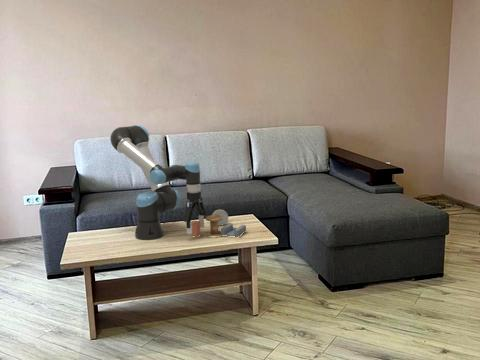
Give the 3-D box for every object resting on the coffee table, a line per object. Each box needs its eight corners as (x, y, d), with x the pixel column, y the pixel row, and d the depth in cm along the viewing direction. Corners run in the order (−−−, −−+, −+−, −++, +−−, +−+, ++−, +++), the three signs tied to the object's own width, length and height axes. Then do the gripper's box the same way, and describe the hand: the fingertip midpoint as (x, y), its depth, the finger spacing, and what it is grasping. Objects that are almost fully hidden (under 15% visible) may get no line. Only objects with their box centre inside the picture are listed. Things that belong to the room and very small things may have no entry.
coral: (211, 216, 283) (210, 205, 291) (213, 230, 289) (213, 219, 297) (227, 214, 283) (227, 203, 291) (229, 228, 289) (229, 217, 297)
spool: (203, 236, 269) (202, 218, 267) (210, 231, 277) (210, 214, 275) (218, 238, 265) (217, 220, 263) (225, 233, 273) (225, 215, 271)
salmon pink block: (190, 236, 269) (189, 222, 267) (194, 234, 273) (193, 220, 271) (197, 237, 267) (196, 223, 266) (200, 235, 271) (199, 221, 269)
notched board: (220, 236, 269) (220, 228, 268) (229, 230, 279) (229, 223, 278) (237, 238, 265) (237, 230, 264) (246, 232, 275) (245, 225, 274)
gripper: (188, 196, 253) (190, 237, 256) (210, 187, 275) (212, 224, 279) (175, 196, 256) (177, 236, 259) (198, 186, 278) (200, 223, 282)
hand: (195, 230), depth 269 cm, fingers open, 13 cm apart
